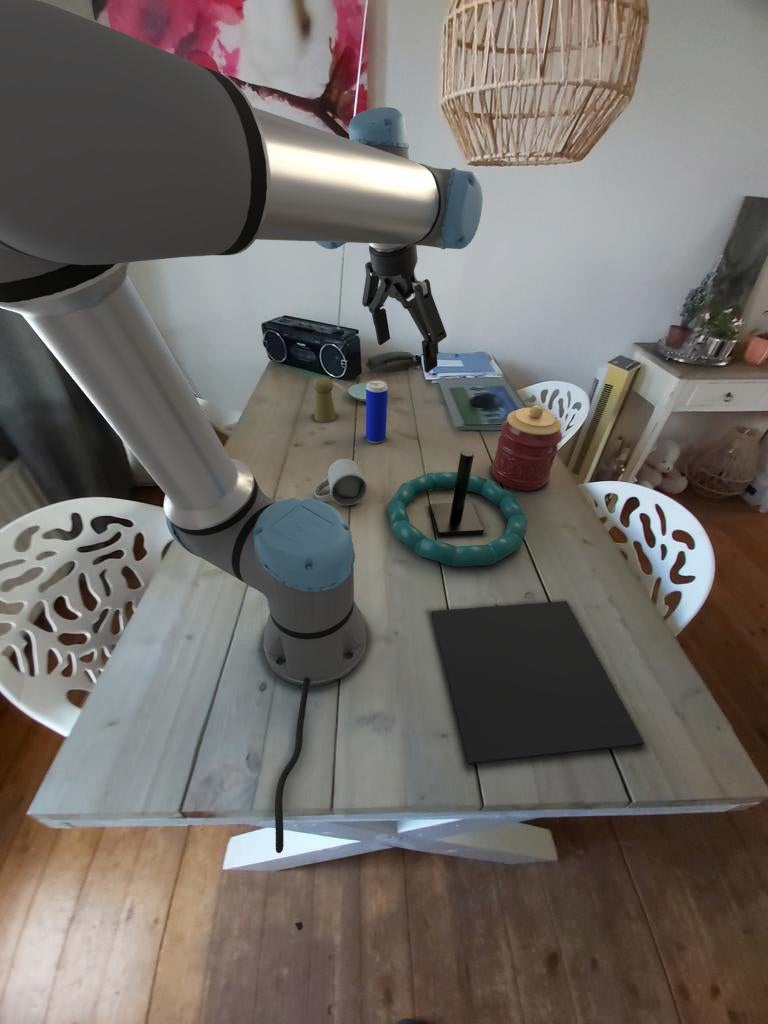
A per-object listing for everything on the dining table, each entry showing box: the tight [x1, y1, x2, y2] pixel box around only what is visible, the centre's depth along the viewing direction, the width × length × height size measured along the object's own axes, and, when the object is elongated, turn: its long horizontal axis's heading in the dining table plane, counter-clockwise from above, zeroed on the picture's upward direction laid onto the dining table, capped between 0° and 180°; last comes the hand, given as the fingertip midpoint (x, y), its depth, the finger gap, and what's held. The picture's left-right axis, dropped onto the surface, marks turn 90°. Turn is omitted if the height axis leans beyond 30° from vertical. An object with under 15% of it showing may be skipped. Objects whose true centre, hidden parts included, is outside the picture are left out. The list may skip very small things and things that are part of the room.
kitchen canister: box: [491, 404, 563, 491], centre depth 98 cm, size 13×13×18 cm
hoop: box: [387, 471, 529, 568], centre depth 89 cm, size 27×27×4 cm
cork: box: [312, 376, 337, 423], centre depth 120 cm, size 6×6×11 cm
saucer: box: [347, 382, 368, 403], centre depth 133 cm, size 12×12×2 cm
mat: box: [431, 600, 645, 765], centre depth 64 cm, size 23×23×1 cm
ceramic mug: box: [313, 458, 368, 507], centre depth 93 cm, size 11×8×8 cm
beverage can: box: [365, 379, 389, 444], centre depth 110 cm, size 5×5×15 cm
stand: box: [429, 449, 485, 538], centre depth 85 cm, size 9×9×16 cm
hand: (406, 354), depth 86 cm, fingers open, 13 cm apart
